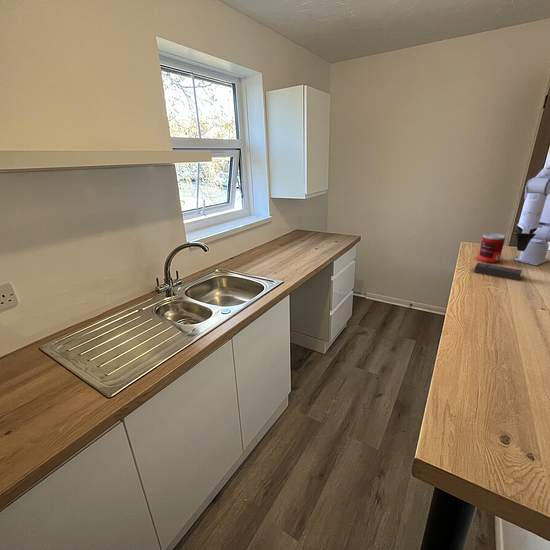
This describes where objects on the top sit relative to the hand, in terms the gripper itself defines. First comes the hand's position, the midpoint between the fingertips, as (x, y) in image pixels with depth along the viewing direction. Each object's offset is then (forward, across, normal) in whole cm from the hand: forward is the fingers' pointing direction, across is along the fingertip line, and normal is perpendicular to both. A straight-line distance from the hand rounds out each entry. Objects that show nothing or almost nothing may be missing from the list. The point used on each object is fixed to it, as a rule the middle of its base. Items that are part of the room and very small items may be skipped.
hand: (521, 248), depth 114 cm
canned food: (+10, +8, +10) cm, 16 cm away
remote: (+9, -8, +5) cm, 13 cm away
